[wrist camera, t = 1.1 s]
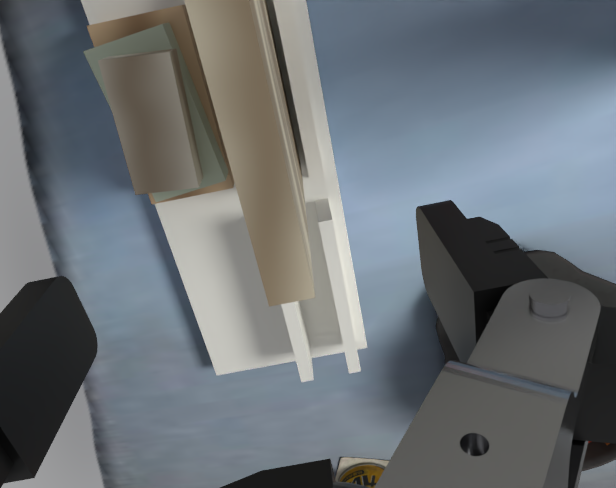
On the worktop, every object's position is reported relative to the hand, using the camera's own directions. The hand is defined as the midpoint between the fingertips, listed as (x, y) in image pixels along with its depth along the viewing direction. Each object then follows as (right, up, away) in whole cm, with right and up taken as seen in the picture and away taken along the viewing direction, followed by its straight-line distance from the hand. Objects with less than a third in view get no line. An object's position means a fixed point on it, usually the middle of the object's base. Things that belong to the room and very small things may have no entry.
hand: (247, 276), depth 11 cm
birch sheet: (-1, +12, +23) cm, 26 cm away
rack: (-2, +5, +28) cm, 29 cm away
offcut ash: (-8, +8, +20) cm, 23 cm away
